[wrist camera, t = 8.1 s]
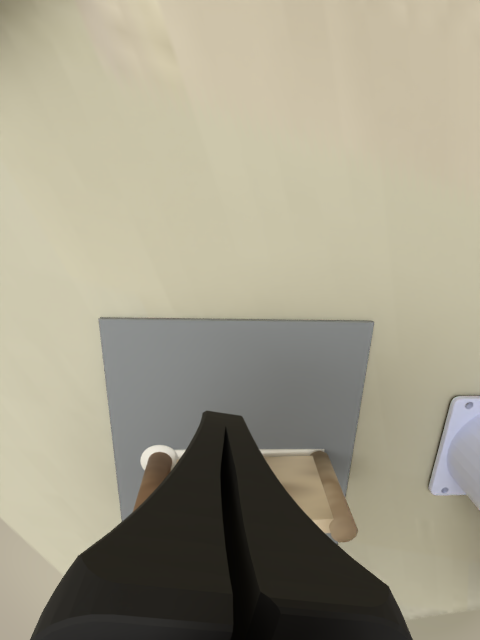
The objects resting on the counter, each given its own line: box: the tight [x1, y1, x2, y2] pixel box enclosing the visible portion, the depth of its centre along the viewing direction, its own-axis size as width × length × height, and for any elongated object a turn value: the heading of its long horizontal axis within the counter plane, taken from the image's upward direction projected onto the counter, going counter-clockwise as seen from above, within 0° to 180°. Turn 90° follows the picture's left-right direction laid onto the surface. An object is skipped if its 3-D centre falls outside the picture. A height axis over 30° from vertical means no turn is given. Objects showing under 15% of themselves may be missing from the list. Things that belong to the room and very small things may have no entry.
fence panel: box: [176, 451, 358, 542], centre depth 21 cm, size 10×1×5 cm, turn 90°
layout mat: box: [99, 317, 374, 545], centre depth 23 cm, size 16×19×1 cm
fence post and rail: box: [133, 452, 172, 511], centre depth 22 cm, size 2×10×6 cm, turn 178°
